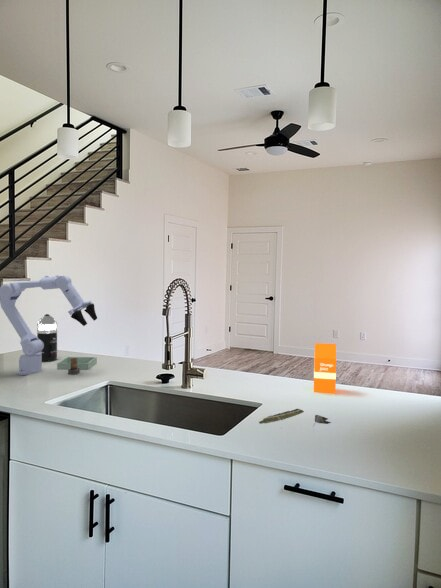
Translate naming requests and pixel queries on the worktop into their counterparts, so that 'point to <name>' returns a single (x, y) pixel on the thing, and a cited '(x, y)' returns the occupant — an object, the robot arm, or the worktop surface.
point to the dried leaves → (290, 414)
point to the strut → (73, 367)
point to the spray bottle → (48, 337)
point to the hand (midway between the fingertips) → (90, 322)
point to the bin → (78, 363)
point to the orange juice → (325, 368)
